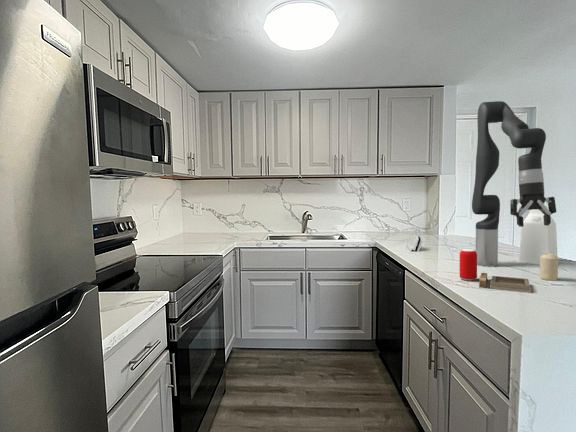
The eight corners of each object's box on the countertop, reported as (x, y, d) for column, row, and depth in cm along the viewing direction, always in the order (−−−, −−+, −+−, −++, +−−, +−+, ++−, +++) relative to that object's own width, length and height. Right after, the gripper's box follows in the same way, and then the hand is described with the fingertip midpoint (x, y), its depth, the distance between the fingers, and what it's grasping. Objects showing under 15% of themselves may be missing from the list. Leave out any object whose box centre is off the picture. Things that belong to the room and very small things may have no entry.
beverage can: (460, 276, 141) (460, 248, 141) (477, 278, 138) (478, 249, 137) (458, 280, 136) (458, 250, 136) (475, 282, 133) (476, 251, 132)
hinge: (406, 247, 221) (411, 232, 220) (413, 249, 220) (418, 235, 219) (410, 251, 205) (416, 235, 204) (418, 254, 204) (424, 238, 203)
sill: (481, 278, 137) (481, 272, 137) (487, 279, 136) (487, 273, 136) (479, 287, 125) (479, 280, 125) (485, 288, 124) (485, 281, 124)
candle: (540, 276, 138) (540, 252, 138) (557, 278, 135) (558, 253, 134) (539, 279, 134) (539, 254, 133) (557, 281, 131) (557, 255, 130)
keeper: (491, 281, 134) (491, 275, 134) (528, 284, 127) (528, 278, 127) (490, 288, 124) (490, 282, 123) (530, 292, 117) (530, 286, 117)
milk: (557, 262, 164) (558, 208, 162) (548, 265, 157) (549, 209, 155) (529, 258, 173) (529, 207, 172) (518, 262, 167) (519, 209, 165)
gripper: (546, 182, 129) (549, 224, 129) (505, 184, 131) (508, 226, 131) (558, 179, 122) (561, 225, 121) (514, 182, 124) (517, 227, 124)
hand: (533, 226), depth 126 cm, fingers open, 8 cm apart
